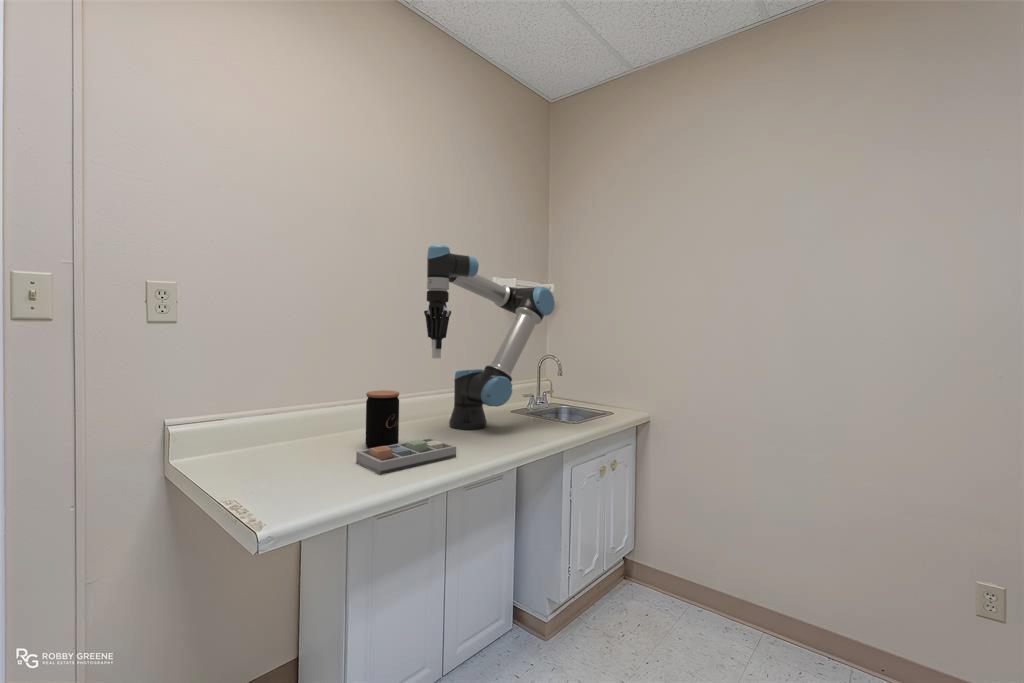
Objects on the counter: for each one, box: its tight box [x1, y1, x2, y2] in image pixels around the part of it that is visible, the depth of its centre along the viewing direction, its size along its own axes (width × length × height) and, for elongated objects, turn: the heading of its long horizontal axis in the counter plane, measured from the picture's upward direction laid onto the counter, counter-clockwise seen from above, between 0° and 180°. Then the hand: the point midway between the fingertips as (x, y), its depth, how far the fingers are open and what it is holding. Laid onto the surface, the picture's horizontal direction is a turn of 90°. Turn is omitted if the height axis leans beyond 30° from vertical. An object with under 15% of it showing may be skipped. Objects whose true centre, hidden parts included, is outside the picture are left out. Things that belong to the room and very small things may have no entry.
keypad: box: [355, 437, 457, 476], centre depth 139 cm, size 26×14×3 cm, turn 135°
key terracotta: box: [369, 446, 392, 460], centre depth 132 cm, size 5×5×3 cm
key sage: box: [405, 439, 427, 452], centre depth 141 cm, size 5×5×3 cm
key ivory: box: [427, 440, 443, 449], centre depth 145 cm, size 5×5×3 cm
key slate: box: [392, 447, 410, 457], centre depth 136 cm, size 5×5×2 cm
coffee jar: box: [365, 389, 400, 449], centre depth 153 cm, size 11×11×18 cm
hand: (436, 358), depth 160 cm, fingers closed
